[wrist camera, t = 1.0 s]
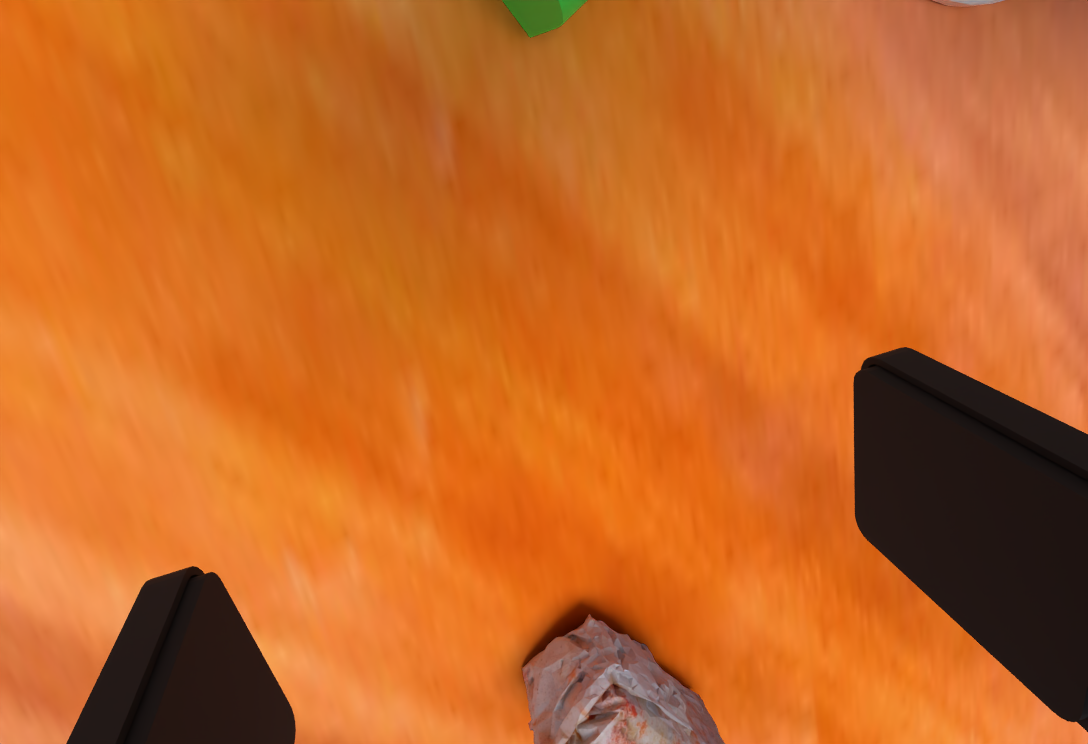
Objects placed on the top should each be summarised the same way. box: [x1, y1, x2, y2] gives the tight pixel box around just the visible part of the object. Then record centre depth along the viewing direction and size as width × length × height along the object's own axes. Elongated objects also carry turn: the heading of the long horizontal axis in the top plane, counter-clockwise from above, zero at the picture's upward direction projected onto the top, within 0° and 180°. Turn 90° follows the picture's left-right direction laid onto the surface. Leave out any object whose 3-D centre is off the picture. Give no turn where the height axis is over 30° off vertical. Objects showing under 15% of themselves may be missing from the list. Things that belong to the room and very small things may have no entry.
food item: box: [522, 613, 725, 744], centre depth 40 cm, size 14×8×10 cm, turn 44°
